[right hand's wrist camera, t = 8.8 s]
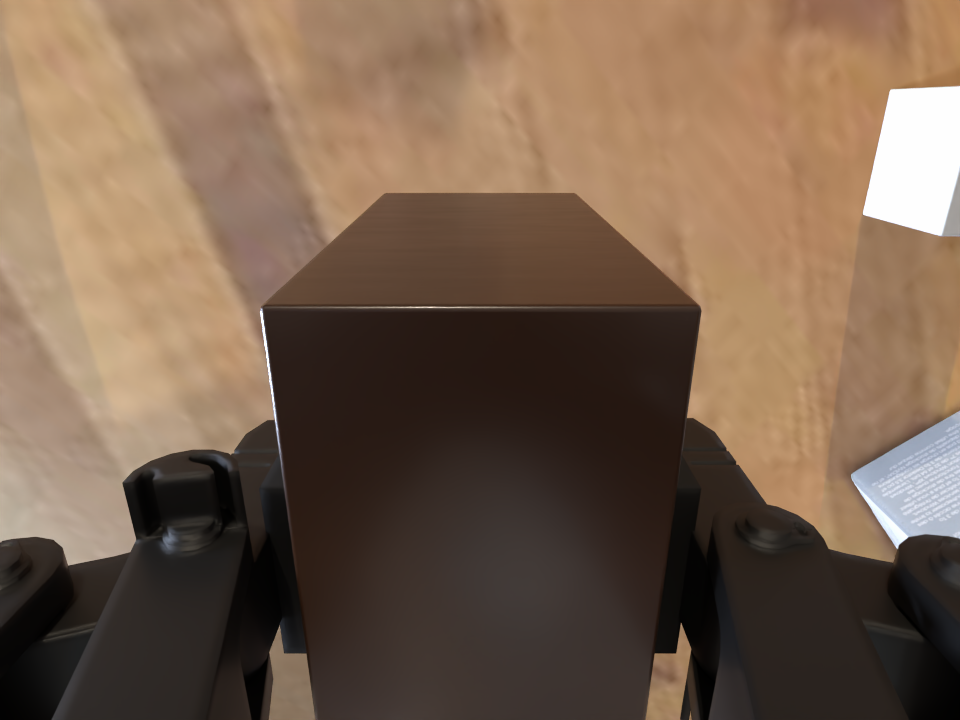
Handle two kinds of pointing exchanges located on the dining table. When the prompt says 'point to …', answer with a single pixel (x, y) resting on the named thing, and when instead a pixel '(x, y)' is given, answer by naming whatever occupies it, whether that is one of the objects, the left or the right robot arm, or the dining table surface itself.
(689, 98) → the dining table surface
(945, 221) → the grey cube
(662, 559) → the walnut bar
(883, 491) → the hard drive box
